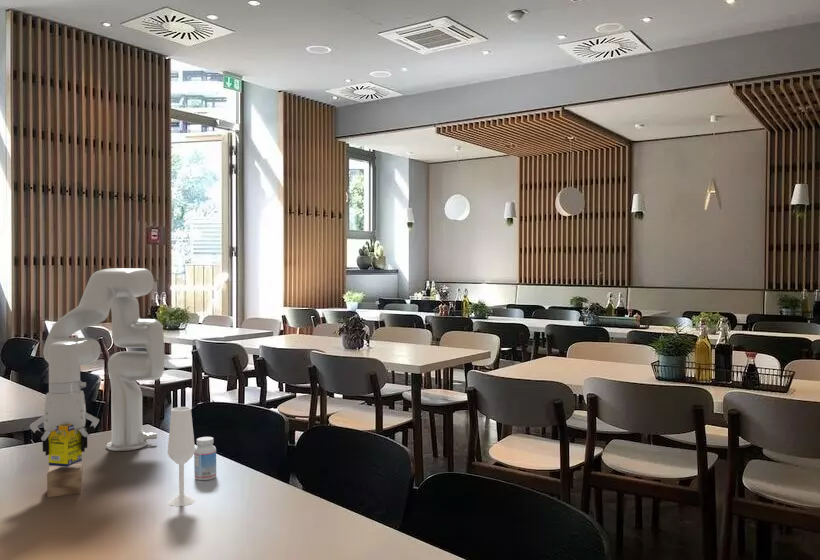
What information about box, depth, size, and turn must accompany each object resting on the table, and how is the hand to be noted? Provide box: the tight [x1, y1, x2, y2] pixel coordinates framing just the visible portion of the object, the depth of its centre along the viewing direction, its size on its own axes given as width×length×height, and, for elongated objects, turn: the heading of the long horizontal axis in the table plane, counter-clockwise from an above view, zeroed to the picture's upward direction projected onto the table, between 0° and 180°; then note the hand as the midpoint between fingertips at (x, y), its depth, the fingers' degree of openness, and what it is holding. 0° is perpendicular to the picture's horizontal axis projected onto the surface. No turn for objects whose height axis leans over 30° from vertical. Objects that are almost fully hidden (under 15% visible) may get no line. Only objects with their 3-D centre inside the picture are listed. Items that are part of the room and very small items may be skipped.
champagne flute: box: [167, 406, 196, 507], centre depth 177 cm, size 7×7×24 cm
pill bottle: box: [193, 436, 217, 481], centre depth 197 cm, size 6×6×11 cm
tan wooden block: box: [46, 462, 84, 498], centre depth 185 cm, size 8×8×6 cm
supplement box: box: [48, 424, 83, 467], centre depth 185 cm, size 6×6×11 cm
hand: (65, 452), depth 185 cm, fingers closed on supplement box, 8 cm apart
